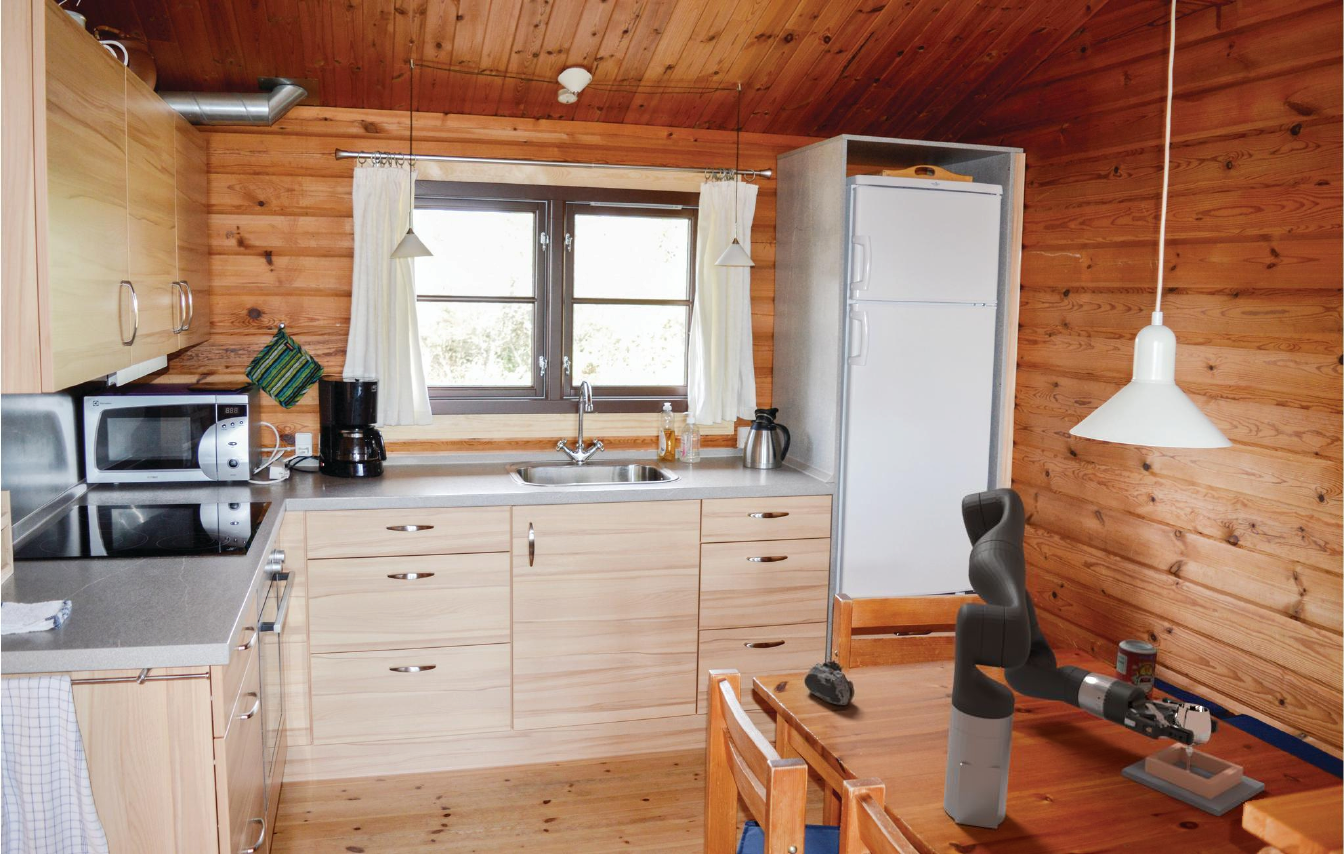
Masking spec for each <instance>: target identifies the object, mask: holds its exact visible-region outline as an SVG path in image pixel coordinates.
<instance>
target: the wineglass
mask: <svg viewBox="0 0 1344 854" xmlns="http://www.w3.org/2000/svg"><path fill="white" fill-rule="evenodd" d="M1210 718H1211V714H1210V709H1208V708H1207V707H1205V706H1202V705H1200V704H1195V703H1189V702H1183V703H1179V704H1178V705H1177V707H1176V710H1175V713H1174V715H1173V721H1172V725H1175V726H1178V727H1180V728H1183V729H1186V730H1189V731H1191V732H1193V733H1194V741H1193V744H1191V745H1187V746H1188V747H1187V748H1186V754H1187V766H1186V770H1185V771H1188V772H1190V758H1191V755H1192V753H1193V749H1192V748H1193V747H1198V746H1201V745H1205V744H1206V743H1208V741H1209V740H1210V737H1211V734H1212V733H1211V720H1210Z"/></svg>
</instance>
